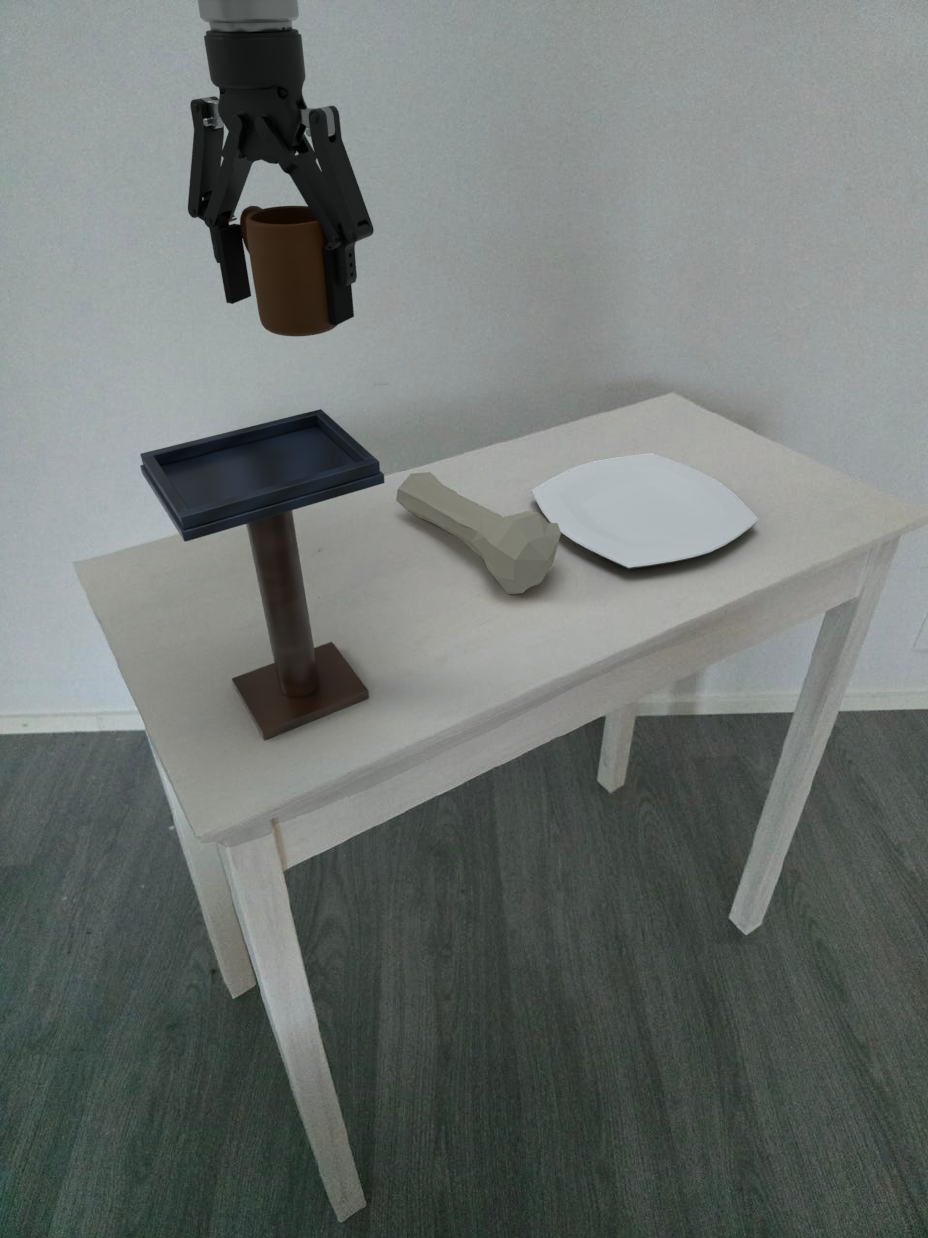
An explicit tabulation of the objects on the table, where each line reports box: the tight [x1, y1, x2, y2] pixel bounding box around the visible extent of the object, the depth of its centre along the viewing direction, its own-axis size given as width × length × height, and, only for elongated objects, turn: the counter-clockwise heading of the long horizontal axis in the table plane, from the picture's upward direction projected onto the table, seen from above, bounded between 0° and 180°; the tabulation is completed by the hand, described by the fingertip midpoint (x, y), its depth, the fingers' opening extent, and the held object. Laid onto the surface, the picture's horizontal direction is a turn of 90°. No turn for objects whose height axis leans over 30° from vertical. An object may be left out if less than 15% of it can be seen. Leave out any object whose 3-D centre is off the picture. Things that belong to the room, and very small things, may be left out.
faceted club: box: [396, 471, 562, 595], centre depth 92 cm, size 9×8×25 cm
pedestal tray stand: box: [140, 408, 385, 741], centre depth 69 cm, size 15×11×24 cm
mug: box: [239, 205, 338, 337], centre depth 76 cm, size 12×8×9 cm, turn 42°
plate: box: [530, 452, 760, 570], centre depth 98 cm, size 23×23×2 cm
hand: (289, 309), depth 78 cm, fingers closed on mug, 12 cm apart
